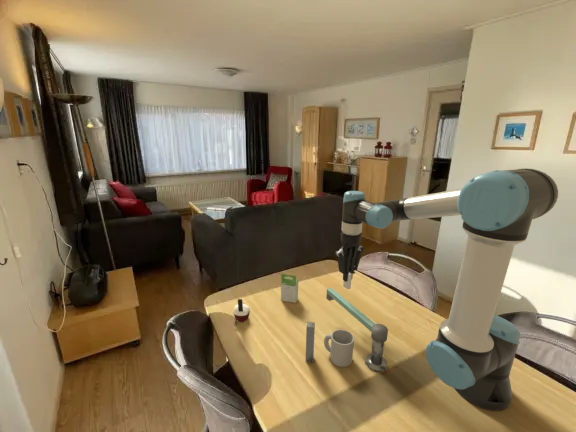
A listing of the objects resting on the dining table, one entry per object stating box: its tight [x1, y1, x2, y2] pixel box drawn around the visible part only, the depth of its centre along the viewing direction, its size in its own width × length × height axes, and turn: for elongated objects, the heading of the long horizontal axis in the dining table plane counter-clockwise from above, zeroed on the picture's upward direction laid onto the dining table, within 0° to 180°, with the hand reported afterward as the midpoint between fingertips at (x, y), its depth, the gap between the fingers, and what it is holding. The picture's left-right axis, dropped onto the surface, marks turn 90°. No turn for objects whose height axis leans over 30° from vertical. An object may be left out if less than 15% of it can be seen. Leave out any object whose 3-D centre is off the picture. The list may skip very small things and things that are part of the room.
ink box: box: [280, 273, 299, 304], centre depth 125 cm, size 7×4×13 cm, turn 72°
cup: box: [323, 328, 355, 368], centre depth 93 cm, size 7×10×9 cm
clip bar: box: [326, 287, 389, 343], centre depth 100 cm, size 30×5×5 cm, turn 26°
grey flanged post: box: [364, 339, 388, 373], centre depth 91 cm, size 7×7×10 cm
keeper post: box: [305, 321, 316, 363], centre depth 92 cm, size 2×2×14 cm
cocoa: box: [233, 298, 251, 323], centre depth 112 cm, size 10×6×12 cm, turn 164°
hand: (346, 287), depth 113 cm, fingers closed
